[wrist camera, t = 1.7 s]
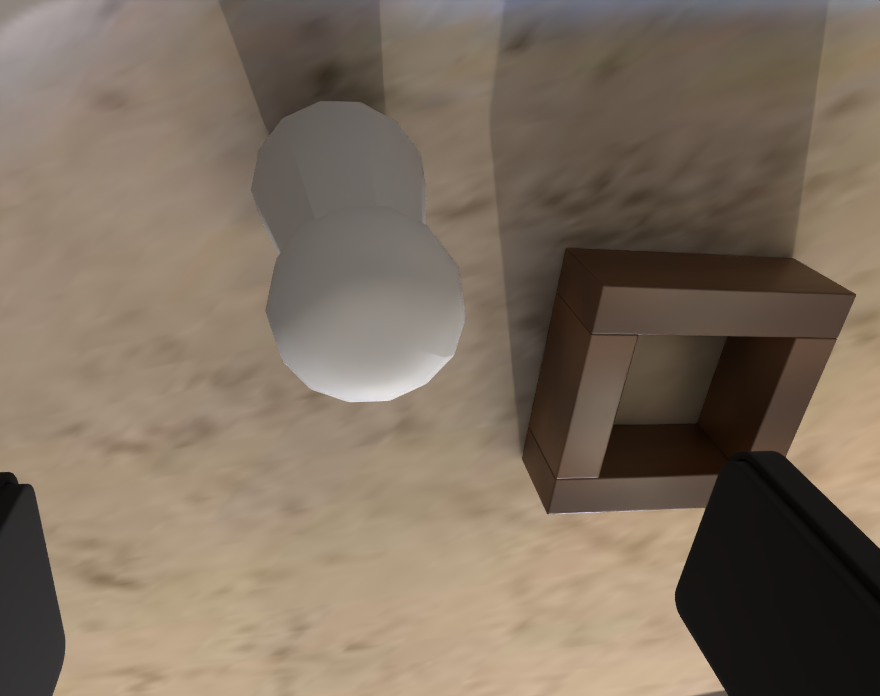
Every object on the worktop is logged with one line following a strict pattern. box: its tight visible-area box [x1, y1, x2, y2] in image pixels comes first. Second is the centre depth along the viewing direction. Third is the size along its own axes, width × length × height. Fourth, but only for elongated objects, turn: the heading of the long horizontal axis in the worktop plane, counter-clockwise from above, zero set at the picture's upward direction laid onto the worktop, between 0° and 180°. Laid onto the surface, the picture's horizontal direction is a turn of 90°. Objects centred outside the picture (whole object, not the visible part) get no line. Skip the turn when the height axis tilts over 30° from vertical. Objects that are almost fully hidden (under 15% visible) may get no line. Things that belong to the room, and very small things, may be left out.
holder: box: [522, 248, 856, 514], centre depth 30 cm, size 11×11×4 cm
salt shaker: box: [251, 101, 466, 402], centre depth 19 cm, size 6×6×13 cm
